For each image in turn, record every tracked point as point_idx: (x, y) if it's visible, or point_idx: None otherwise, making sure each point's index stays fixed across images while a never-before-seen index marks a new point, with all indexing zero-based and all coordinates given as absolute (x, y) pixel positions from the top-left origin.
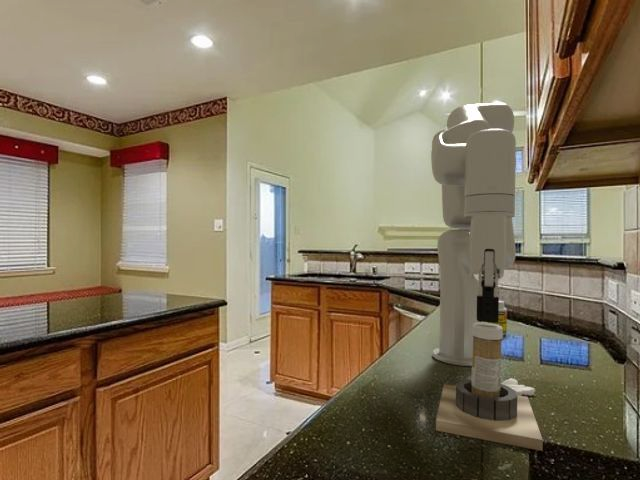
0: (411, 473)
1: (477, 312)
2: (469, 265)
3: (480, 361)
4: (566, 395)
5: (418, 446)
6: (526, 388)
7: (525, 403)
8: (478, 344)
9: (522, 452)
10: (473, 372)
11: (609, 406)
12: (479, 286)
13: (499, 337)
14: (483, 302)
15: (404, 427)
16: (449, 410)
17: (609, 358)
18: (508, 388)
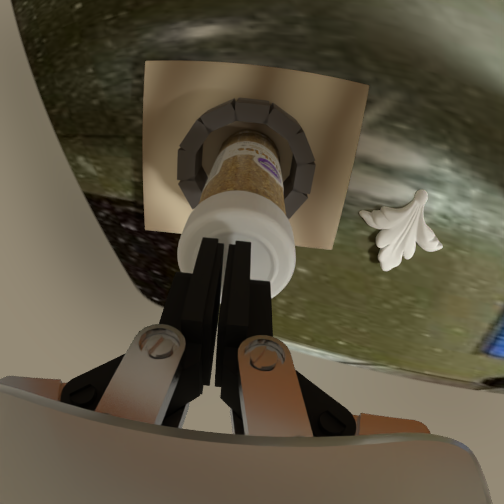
0: (28, 56)
1: (196, 260)
2: (13, 492)
3: (206, 182)
4: (383, 307)
5: (89, 44)
6: (391, 258)
7: (294, 238)
8: (204, 197)
9: (133, 193)
10: (229, 153)
11: (346, 343)
12: (113, 380)
13: None
14: (162, 320)
15: (145, 8)
16: (203, 83)
17: (499, 375)
18: None
